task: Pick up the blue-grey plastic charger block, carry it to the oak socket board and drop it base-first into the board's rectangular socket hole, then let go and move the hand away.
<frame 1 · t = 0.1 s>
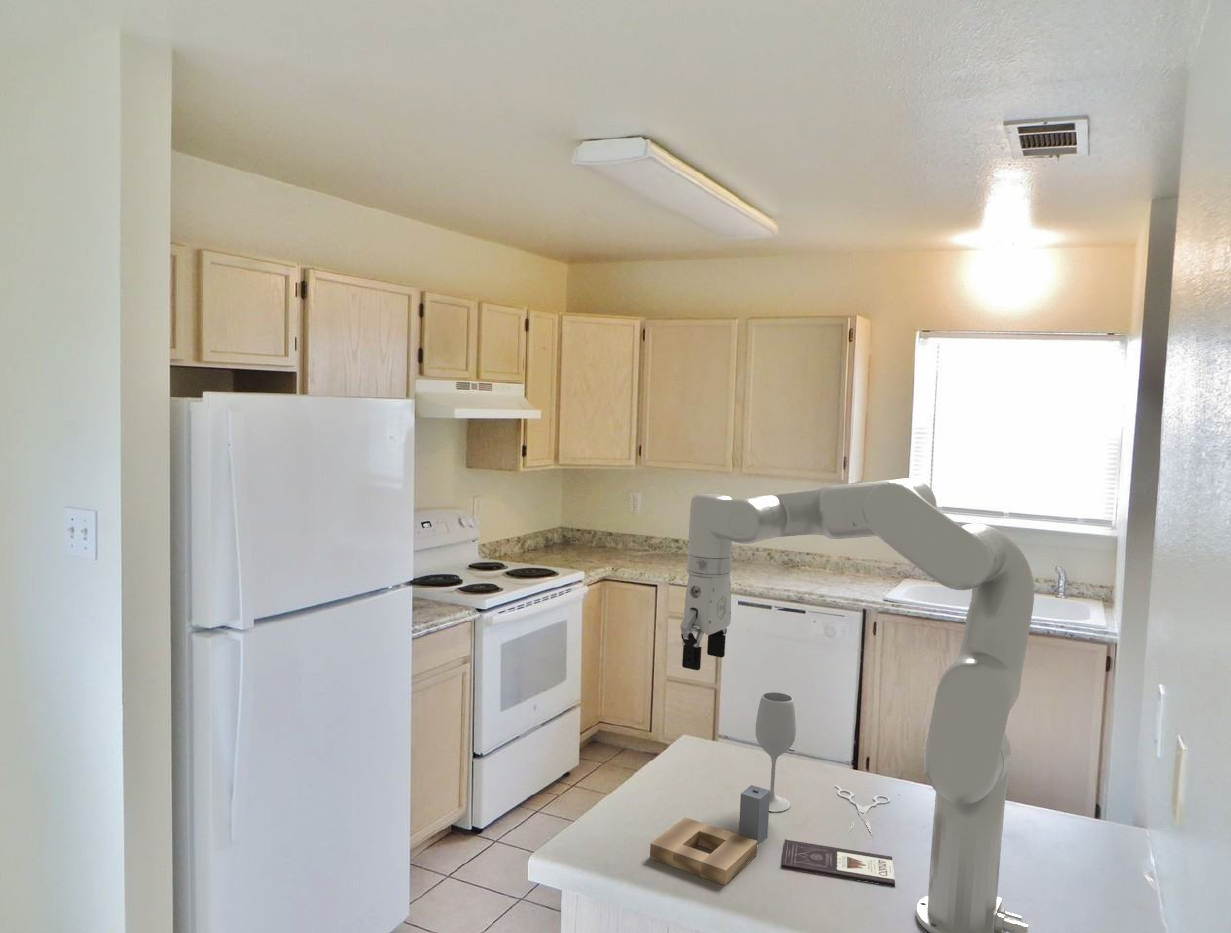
hand: (703, 662, 156), 31 cm above the worktop, tool pointing down, fingers open, 9 cm apart
wineglass: (771, 804, 171), on the worktop
charger: (752, 838, 157), on the worktop
chocolate bar: (837, 866, 150), on the worktop
scissors: (861, 814, 170), on the worktop
socket board: (703, 856, 150), on the worktop
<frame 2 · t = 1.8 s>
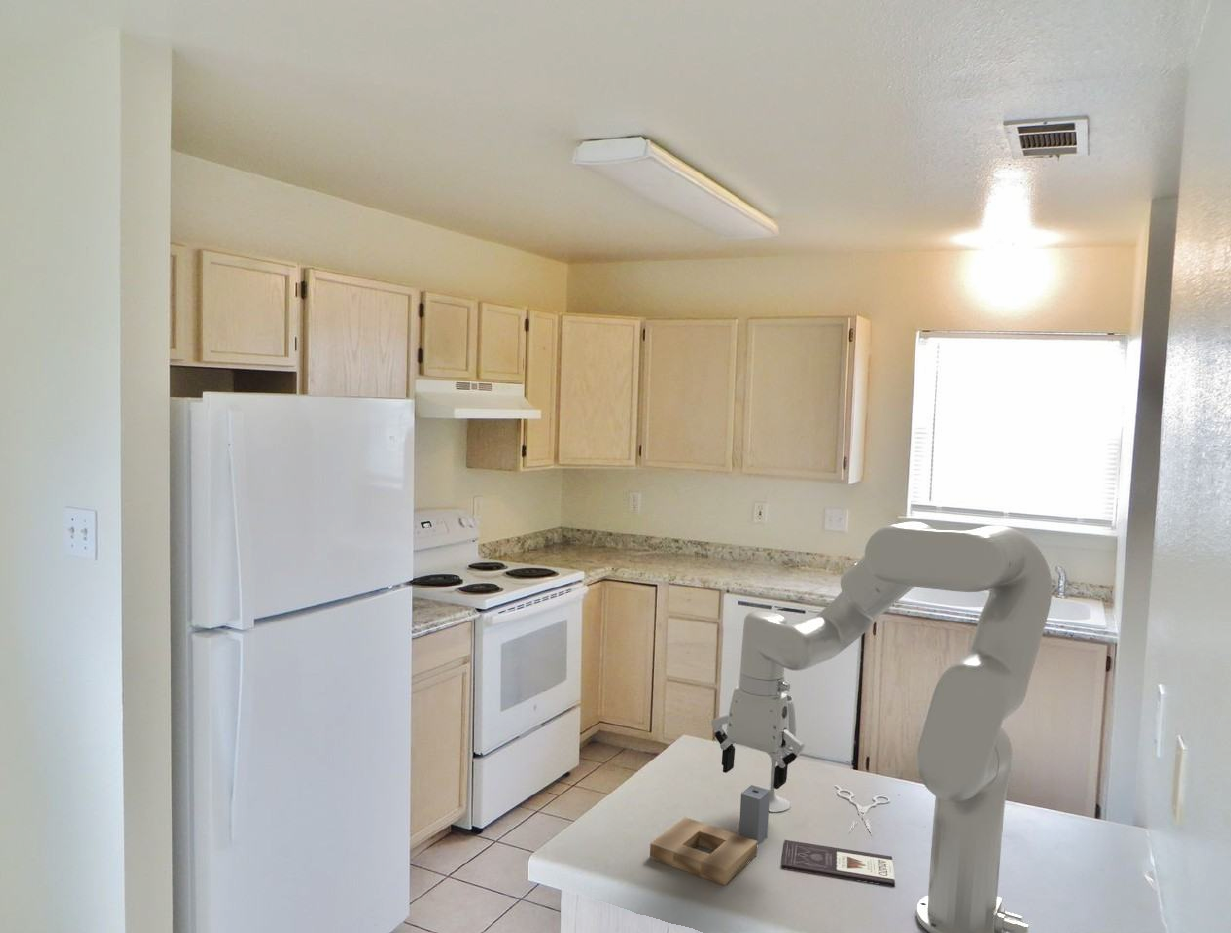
hand: (752, 777, 157), 11 cm above the worktop, tool pointing down, fingers open, 9 cm apart
nothing on the worktop moved.
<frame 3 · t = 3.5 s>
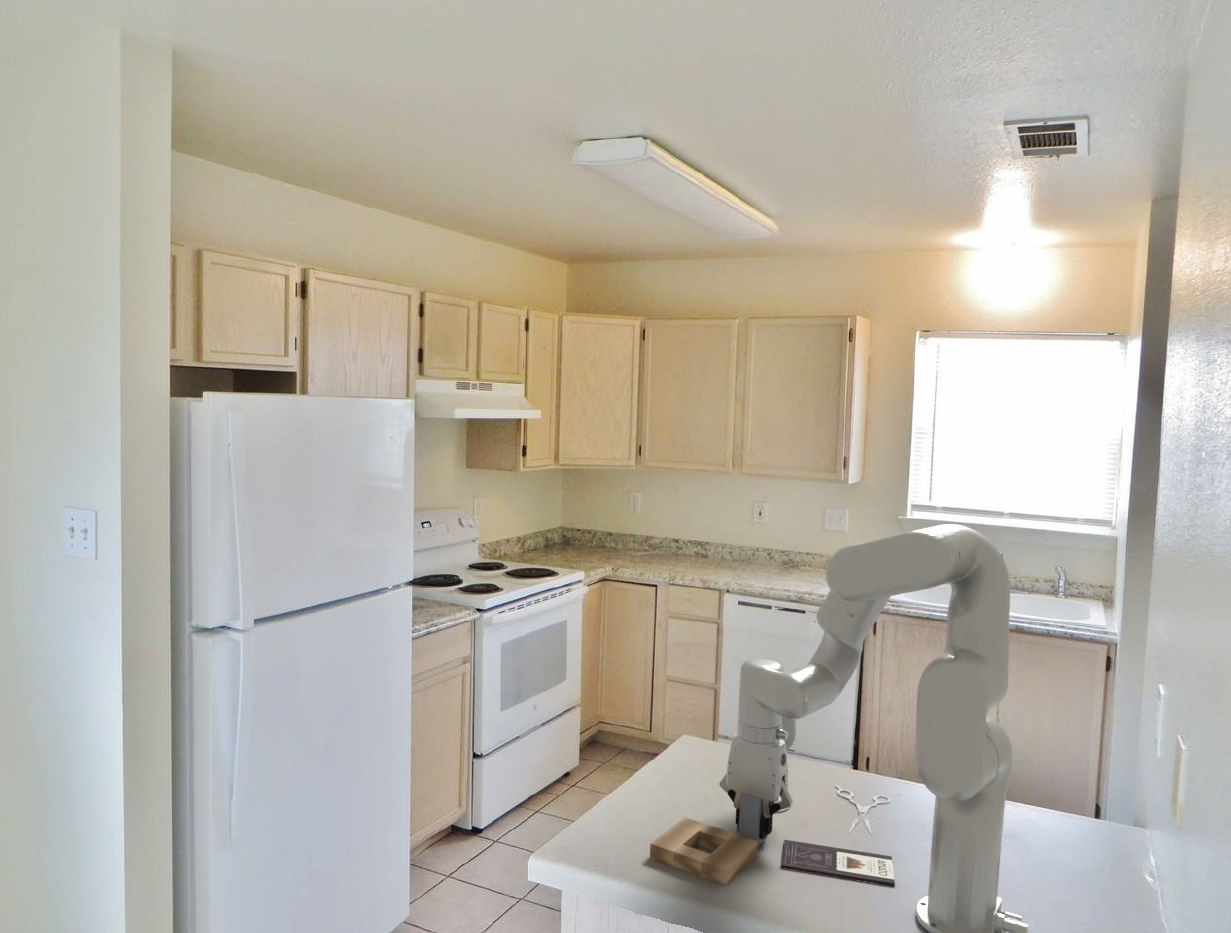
hand: (753, 831, 157), 1 cm above the worktop, tool pointing down, fingers closed on charger, 3 cm apart
charger: (752, 838, 157), on the worktop, touching gripper
everything else where it was.
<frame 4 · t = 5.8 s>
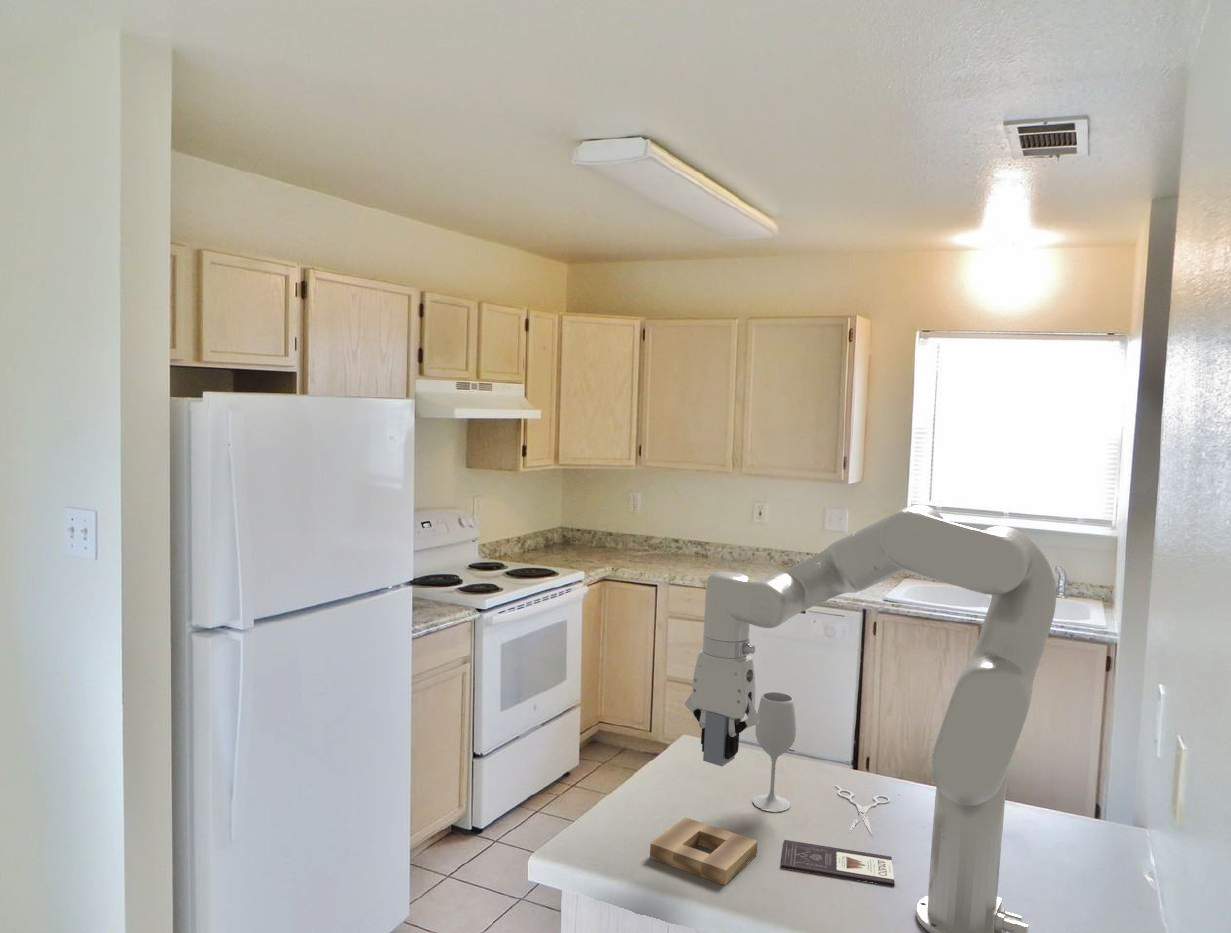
hand: (719, 752, 150), 17 cm above the worktop, tool pointing down, fingers closed on charger, 3 cm apart
charger: (718, 759, 150), point 16 cm above the worktop, touching gripper
everything else where it was.
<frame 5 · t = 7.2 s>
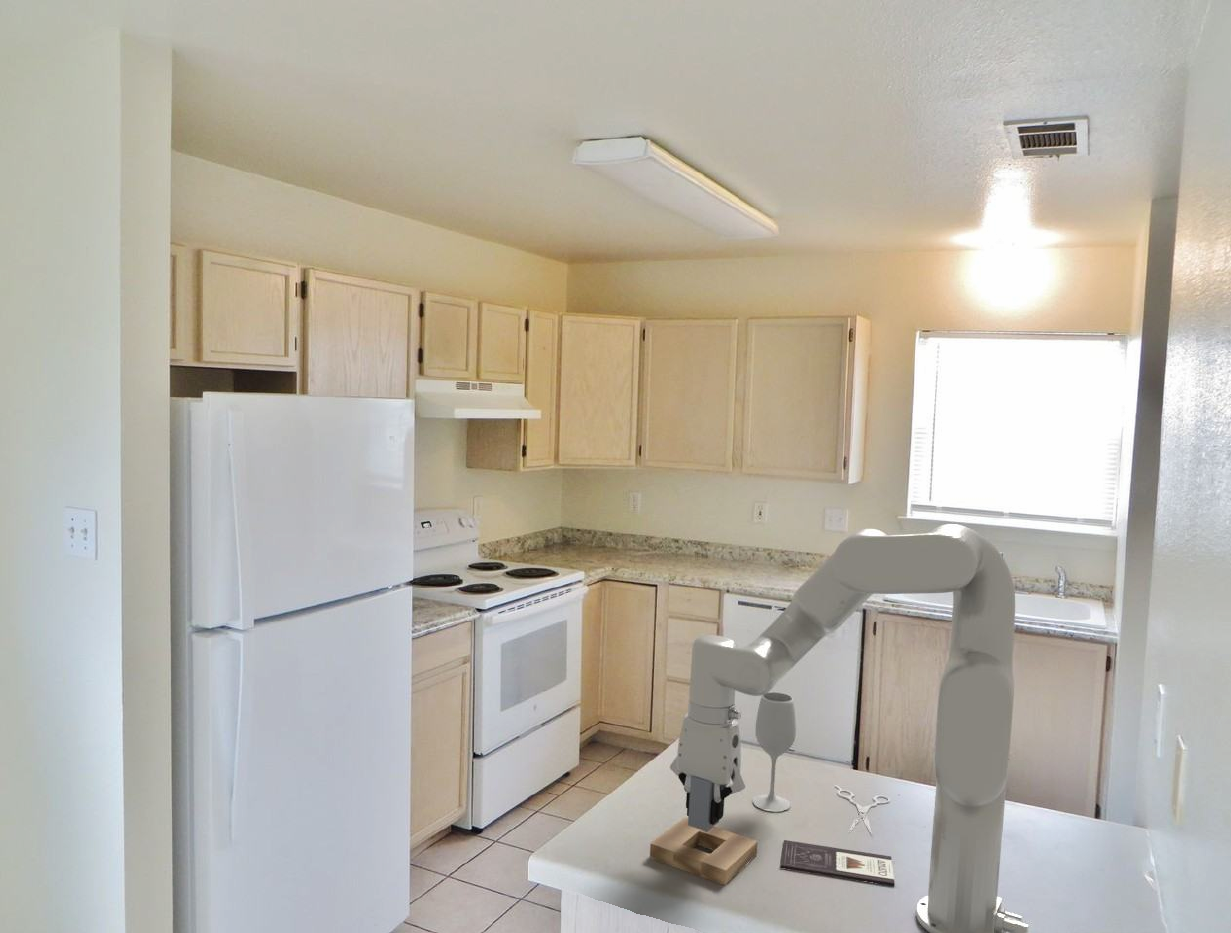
hand: (704, 816, 150), 7 cm above the worktop, tool pointing down, fingers closed on charger, 3 cm apart
charger: (703, 823, 150), point 6 cm above the worktop, touching gripper
everything else where it was.
when the fingers open (3 cm above the worktop, at t = 8.2 s): charger drops 2 cm, resting in socket board.
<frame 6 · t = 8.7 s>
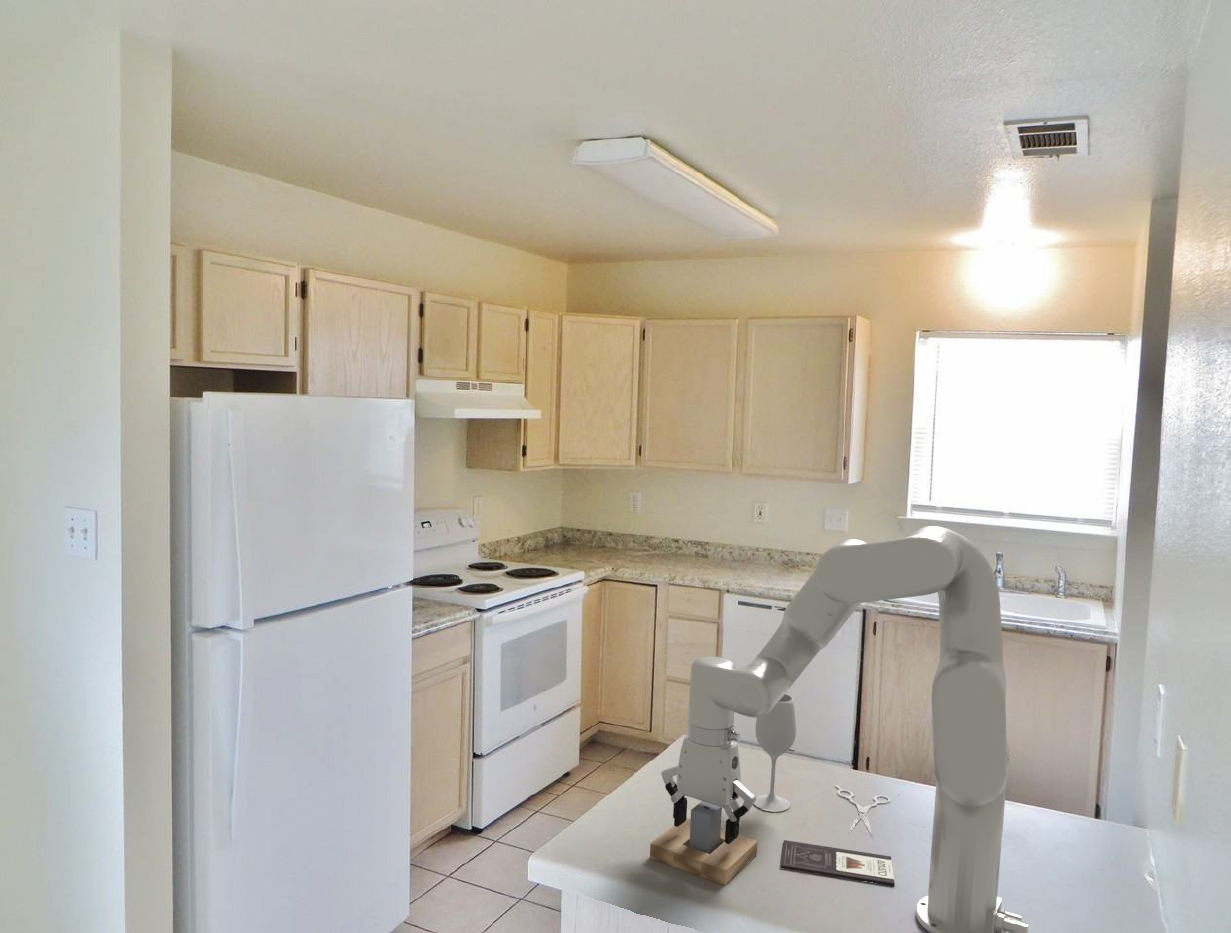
hand: (705, 831, 150), 4 cm above the worktop, tool pointing down, fingers open, 9 cm apart
charger: (704, 856, 150), resting in socket board
everything else where it was.
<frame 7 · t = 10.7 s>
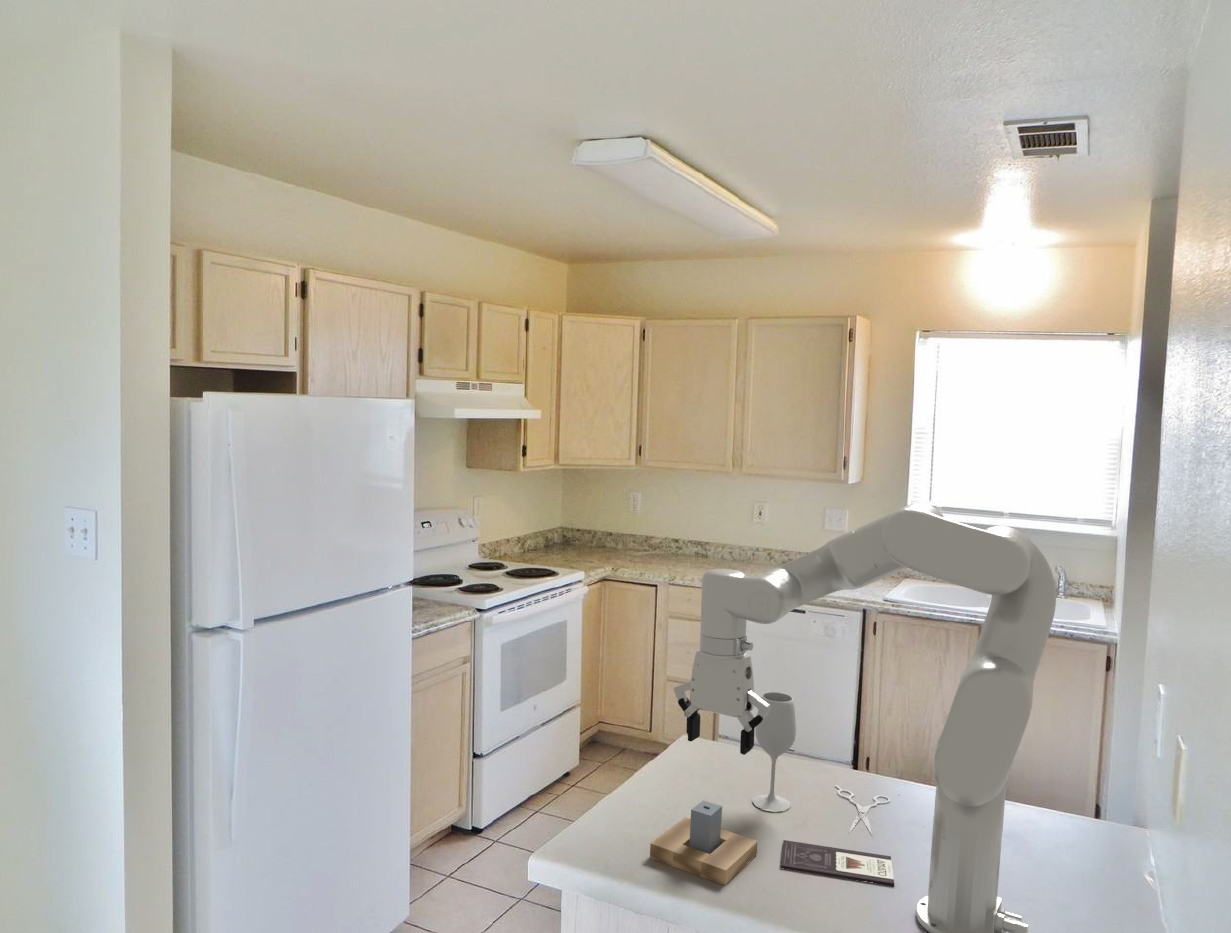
hand: (719, 745, 149), 19 cm above the worktop, tool pointing down, fingers open, 9 cm apart
nothing on the worktop moved.
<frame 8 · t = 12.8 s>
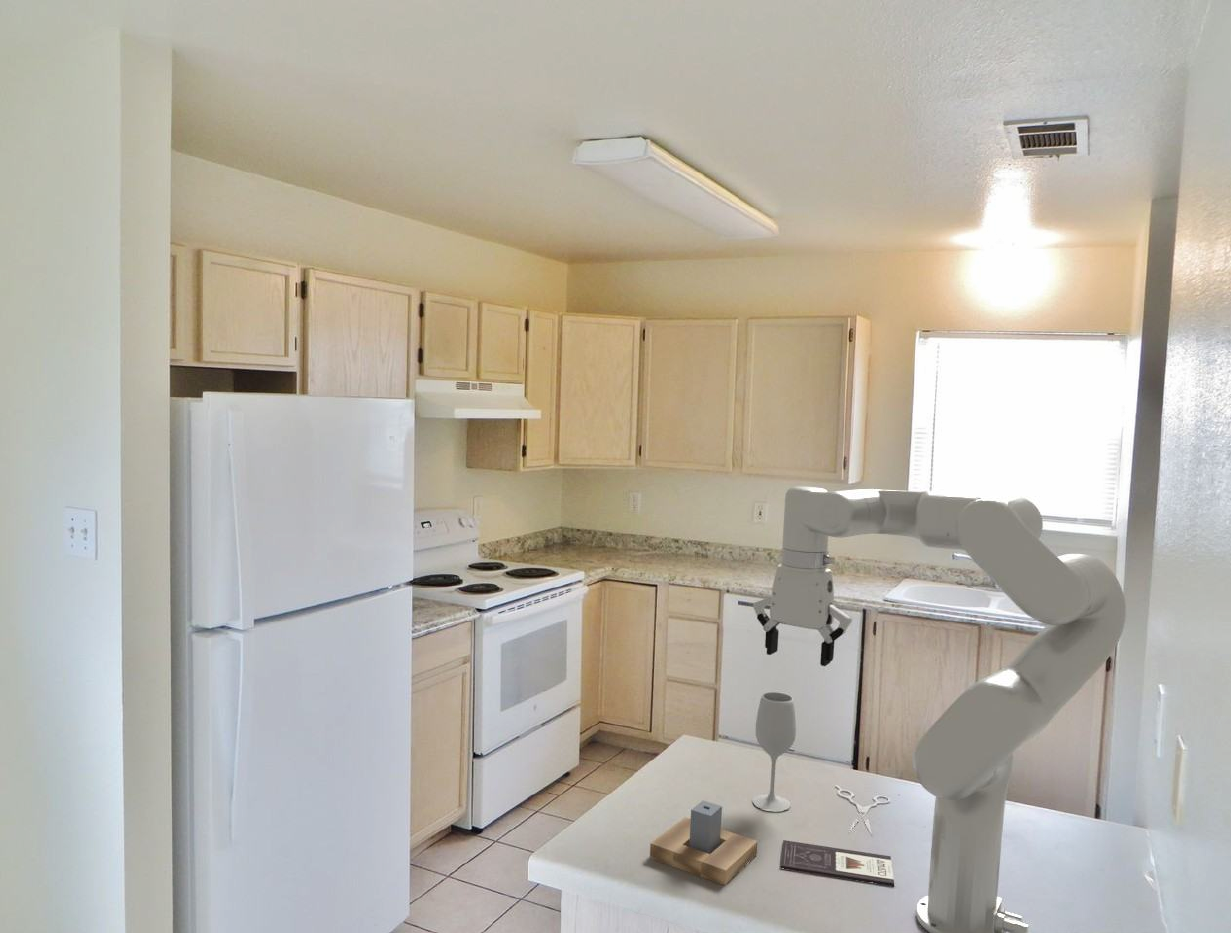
hand: (798, 658, 152), 33 cm above the worktop, tool pointing down, fingers open, 9 cm apart
nothing on the worktop moved.
at the end: charger 0.1 cm off-centre on the socket board, point 0.0 cm above the socket board's base; charger tilted 0°; the gripper is holding nothing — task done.
